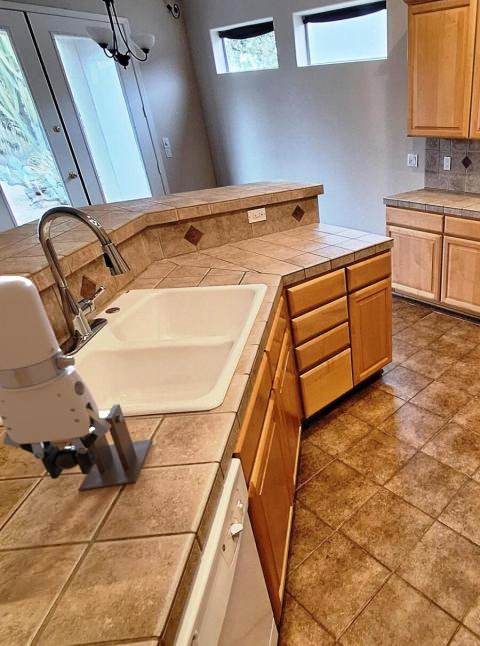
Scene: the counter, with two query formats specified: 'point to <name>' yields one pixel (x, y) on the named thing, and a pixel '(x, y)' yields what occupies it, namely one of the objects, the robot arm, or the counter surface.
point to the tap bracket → (116, 456)
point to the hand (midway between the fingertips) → (74, 469)
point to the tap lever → (70, 453)
